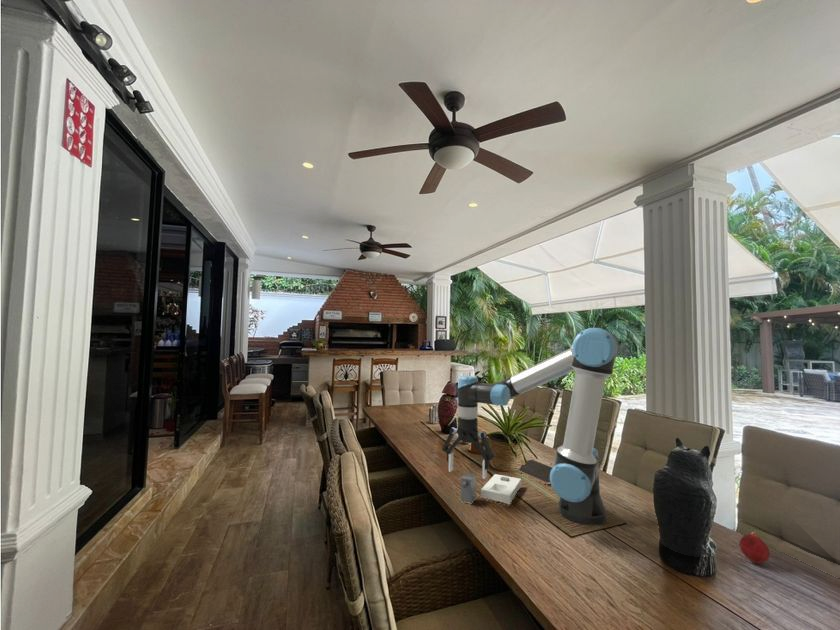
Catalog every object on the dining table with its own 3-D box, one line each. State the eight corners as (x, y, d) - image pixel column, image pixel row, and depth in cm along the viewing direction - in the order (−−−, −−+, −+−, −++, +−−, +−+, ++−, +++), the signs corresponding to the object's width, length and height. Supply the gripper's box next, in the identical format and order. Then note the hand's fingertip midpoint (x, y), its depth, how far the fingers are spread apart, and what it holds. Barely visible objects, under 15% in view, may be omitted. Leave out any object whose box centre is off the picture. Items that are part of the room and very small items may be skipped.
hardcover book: (546, 487, 144) (546, 481, 144) (508, 469, 164) (508, 464, 164) (572, 480, 151) (572, 474, 151) (532, 464, 172) (532, 459, 172)
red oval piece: (761, 572, 90) (758, 539, 90) (735, 558, 95) (733, 528, 96) (776, 568, 91) (773, 536, 92) (750, 555, 97) (747, 525, 97)
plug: (476, 499, 131) (475, 475, 132) (469, 506, 125) (469, 481, 126) (466, 497, 133) (465, 473, 134) (459, 504, 127) (459, 479, 128)
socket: (521, 487, 142) (521, 476, 142) (509, 505, 126) (509, 493, 127) (495, 482, 147) (494, 472, 148) (481, 499, 132) (480, 487, 132)
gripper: (502, 419, 130) (502, 477, 128) (442, 411, 142) (441, 464, 140) (496, 423, 123) (496, 484, 122) (434, 414, 135) (433, 470, 134)
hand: (467, 474), depth 131 cm, fingers open, 13 cm apart
